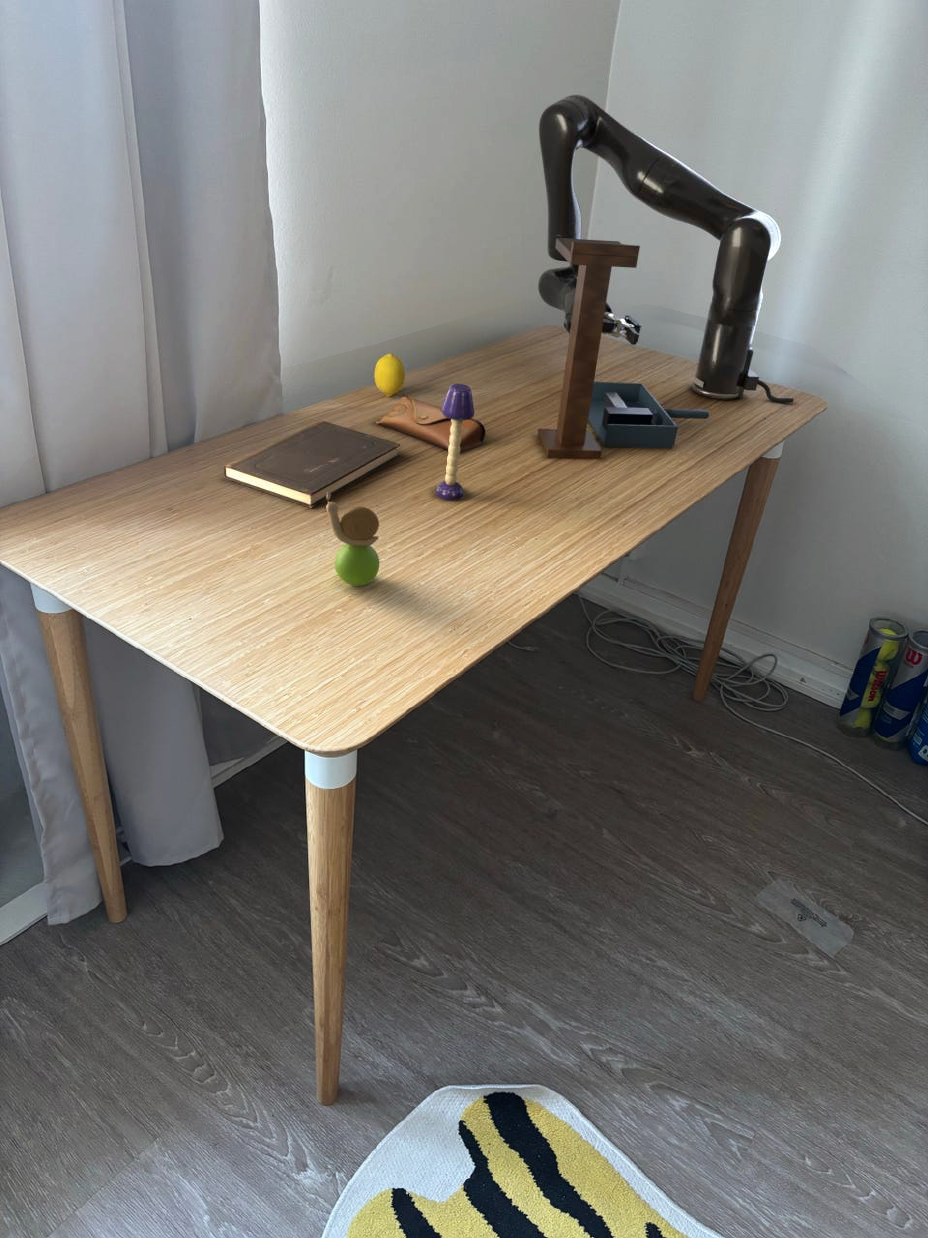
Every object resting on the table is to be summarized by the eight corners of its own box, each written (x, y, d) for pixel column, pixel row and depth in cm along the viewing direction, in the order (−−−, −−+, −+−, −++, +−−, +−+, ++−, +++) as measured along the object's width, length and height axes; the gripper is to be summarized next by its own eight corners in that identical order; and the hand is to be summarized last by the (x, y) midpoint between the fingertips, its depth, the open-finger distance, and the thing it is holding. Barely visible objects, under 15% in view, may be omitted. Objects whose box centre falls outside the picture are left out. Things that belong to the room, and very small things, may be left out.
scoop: (604, 446, 158) (607, 424, 156) (575, 400, 176) (578, 380, 174) (727, 449, 161) (732, 428, 159) (687, 404, 179) (691, 384, 177)
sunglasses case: (371, 422, 158) (385, 384, 157) (393, 432, 164) (407, 396, 163) (456, 452, 149) (471, 413, 149) (476, 462, 156) (490, 425, 155)
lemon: (406, 392, 172) (407, 350, 168) (401, 403, 168) (403, 359, 163) (376, 389, 173) (377, 347, 168) (371, 400, 168) (372, 356, 164)
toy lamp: (471, 492, 139) (480, 384, 130) (461, 504, 135) (470, 394, 126) (441, 485, 140) (448, 378, 131) (430, 498, 136) (437, 388, 127)
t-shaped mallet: (587, 401, 175) (590, 385, 173) (628, 403, 176) (631, 386, 174) (606, 430, 163) (609, 413, 161) (649, 431, 164) (653, 414, 162)
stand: (588, 434, 162) (620, 230, 144) (603, 460, 153) (640, 245, 134) (532, 433, 160) (557, 226, 142) (544, 459, 151) (573, 241, 133)
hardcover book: (399, 457, 148) (400, 443, 146) (311, 508, 130) (311, 493, 129) (318, 432, 154) (318, 419, 152) (223, 478, 136) (222, 464, 135)
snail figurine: (327, 570, 117) (326, 483, 110) (378, 571, 117) (381, 485, 111) (325, 593, 112) (325, 504, 105) (379, 594, 113) (381, 505, 106)
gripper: (557, 289, 183) (582, 317, 170) (623, 292, 186) (654, 320, 174) (550, 327, 187) (575, 357, 175) (616, 329, 191) (645, 359, 178)
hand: (614, 338), depth 174 cm, fingers open, 8 cm apart
